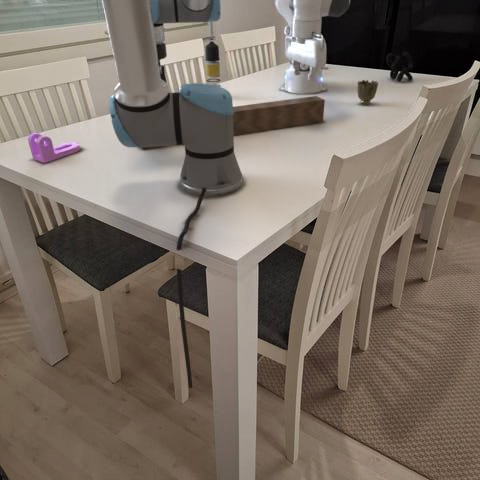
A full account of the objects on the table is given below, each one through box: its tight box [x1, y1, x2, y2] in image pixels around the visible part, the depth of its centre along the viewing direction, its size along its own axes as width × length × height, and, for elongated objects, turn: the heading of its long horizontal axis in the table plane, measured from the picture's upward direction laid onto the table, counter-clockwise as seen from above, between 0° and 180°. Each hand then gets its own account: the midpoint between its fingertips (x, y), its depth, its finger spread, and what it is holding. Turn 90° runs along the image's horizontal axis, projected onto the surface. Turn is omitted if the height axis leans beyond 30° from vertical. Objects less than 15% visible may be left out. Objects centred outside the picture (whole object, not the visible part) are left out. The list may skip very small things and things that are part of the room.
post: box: [141, 95, 326, 150], centre depth 141 cm, size 62×5×8 cm, turn 112°
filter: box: [204, 21, 222, 87], centre depth 175 cm, size 6×6×30 cm
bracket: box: [27, 132, 81, 164], centre depth 127 cm, size 13×6×7 cm, turn 143°
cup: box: [357, 79, 379, 106], centre depth 166 cm, size 8×7×8 cm
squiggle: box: [385, 51, 414, 83], centre depth 198 cm, size 11×10×15 cm
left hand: (160, 120), depth 132 cm, fingers open, 13 cm apart
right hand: (303, 77), depth 143 cm, fingers open, 8 cm apart
